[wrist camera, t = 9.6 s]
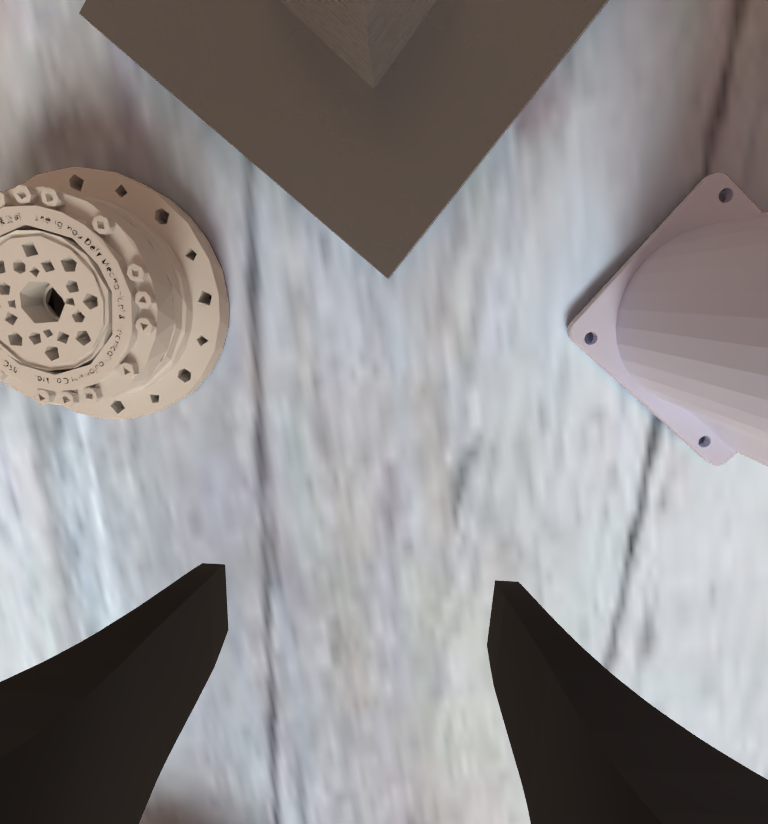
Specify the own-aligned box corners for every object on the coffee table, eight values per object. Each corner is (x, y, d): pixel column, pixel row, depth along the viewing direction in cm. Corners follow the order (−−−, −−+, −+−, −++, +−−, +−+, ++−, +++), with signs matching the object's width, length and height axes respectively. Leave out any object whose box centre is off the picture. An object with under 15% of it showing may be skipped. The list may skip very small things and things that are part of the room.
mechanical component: (217, 171, 18) (-21, 180, 18) (161, 132, 14) (-146, 145, 14) (243, 408, 21) (34, 413, 21) (203, 438, 16) (-59, 443, 17)
